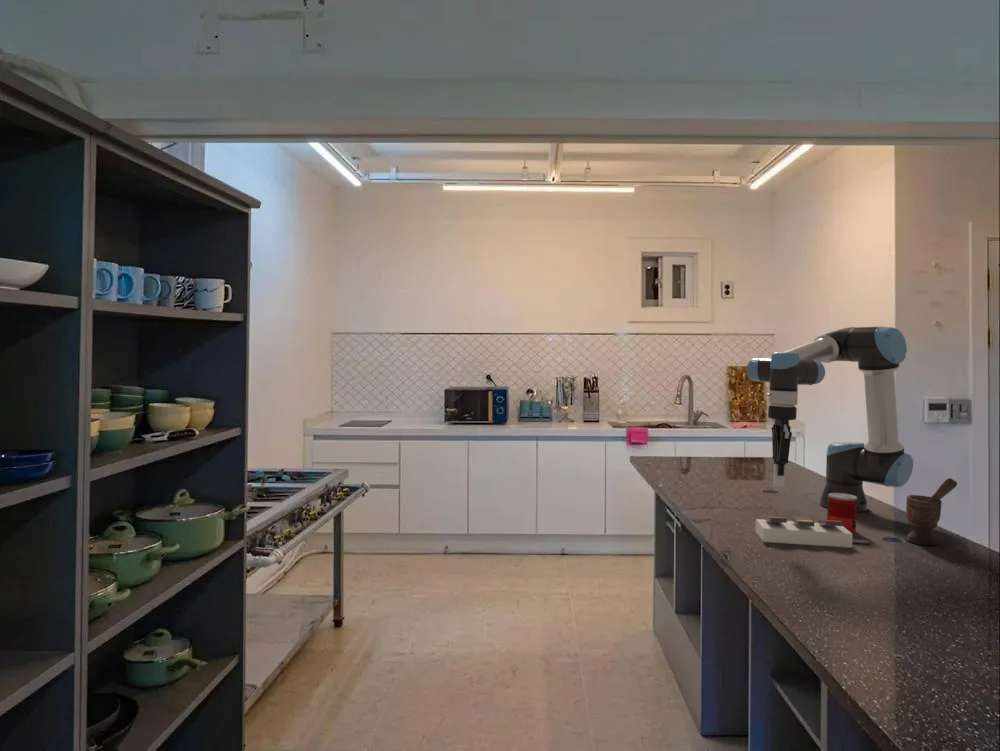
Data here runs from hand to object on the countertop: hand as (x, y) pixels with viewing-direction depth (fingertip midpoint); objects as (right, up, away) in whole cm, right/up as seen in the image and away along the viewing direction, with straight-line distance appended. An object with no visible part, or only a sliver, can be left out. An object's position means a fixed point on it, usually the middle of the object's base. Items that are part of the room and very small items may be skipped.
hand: (778, 485), depth 186 cm
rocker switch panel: (+11, -16, +2) cm, 20 cm away
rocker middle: (+8, -11, +2) cm, 14 cm away
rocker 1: (+1, -11, +3) cm, 11 cm away
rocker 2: (+15, -11, +1) cm, 19 cm away
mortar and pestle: (+44, -17, +1) cm, 47 cm away
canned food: (+25, -16, +13) cm, 32 cm away
